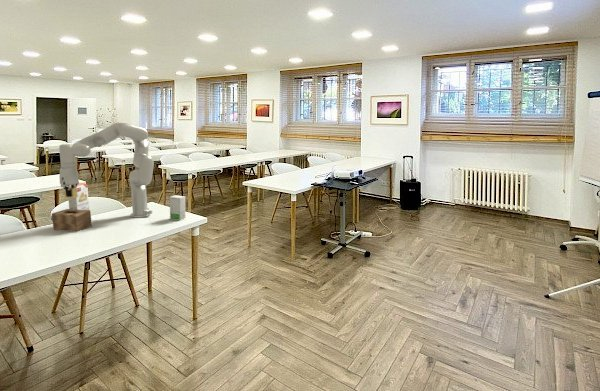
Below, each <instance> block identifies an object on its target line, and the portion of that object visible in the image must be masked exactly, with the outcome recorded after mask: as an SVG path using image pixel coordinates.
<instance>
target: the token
mask: <svg viewBox="0 0 600 391" xmlns="http://www.w3.org/2000/svg"><path fill="white" fill-rule="evenodd" d="M70 190H71V197H66V190H64V189H63V191H64V198H65V199H68V198H78V196H77V188H74V187H70Z"/></svg>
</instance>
